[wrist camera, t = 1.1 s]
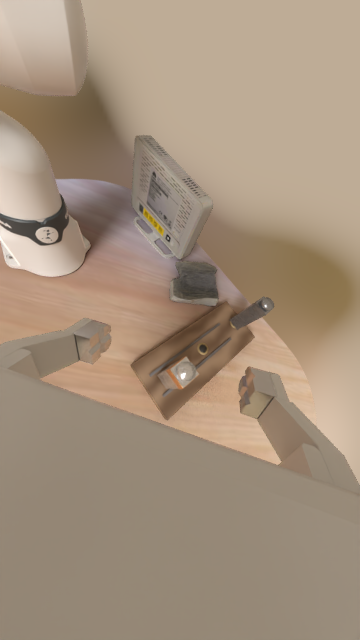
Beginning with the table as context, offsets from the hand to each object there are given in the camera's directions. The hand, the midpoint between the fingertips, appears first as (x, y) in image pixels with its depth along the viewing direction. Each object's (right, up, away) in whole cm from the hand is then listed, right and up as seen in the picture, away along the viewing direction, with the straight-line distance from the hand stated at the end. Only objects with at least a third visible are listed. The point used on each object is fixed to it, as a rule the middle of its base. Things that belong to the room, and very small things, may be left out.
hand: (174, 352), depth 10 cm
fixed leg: (+17, +1, +41) cm, 44 cm away
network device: (-7, +30, +47) cm, 57 cm away
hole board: (+6, -6, +36) cm, 37 cm away
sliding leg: (-3, -11, +29) cm, 31 cm away
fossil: (+4, +13, +45) cm, 47 cm away
